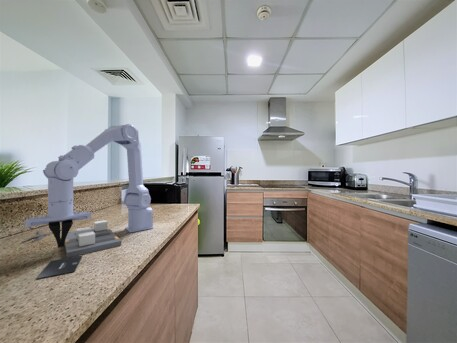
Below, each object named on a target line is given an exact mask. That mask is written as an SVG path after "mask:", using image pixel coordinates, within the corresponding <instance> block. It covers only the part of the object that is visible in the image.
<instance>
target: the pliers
mask: <svg viewBox="0 0 457 343" xmlns="http://www.w3.org/2000/svg"><path fill="white" fill-rule="evenodd" d="M46 228H47V229H48V227H47V226H46V227H43V228H41V229H39V230H38V231H37V234H35V235H33V236H31V237H29V238H26V239H25V240H23V241H21V243H22V244H25V243H27V242H29V241H31V243H34V242H35V243H36V242H37V241H40V240H42V239H44V238H45V237H46V236H49V235H51V234H53V233H52V231H51V232H47V233H43V234H42V231H44V230H46ZM43 229H44V230H43ZM41 230H42V231H41ZM40 231H41V232H40ZM60 232H62V229H60Z"/></svg>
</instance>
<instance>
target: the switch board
mask: <svg viewBox="0 0 457 343" xmlns="http://www.w3.org/2000/svg"><path fill="white" fill-rule="evenodd" d="M91 229H92V232H94V233H95V243H94V244H89V245H85V246H80V247H79V244H78V240H77V239H76V230H75V231H69V232H68V234H67V237H66V239H65V243H64V247H65V254H66V258H70V257H76V256H82V255H85V254H89V253H90V254H91V253H93V252H98V251H99V252H100V251H102V250H107V249H111V248H115V247H120V246H122V240H121V239H120V238H119V237H118V236H117V235H116V234H115V233H114V232H113V231H112V230H111V229H110V228H109V227H108V229H107V230H101V231H95V230H94V227H93V228H91Z"/></svg>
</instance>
